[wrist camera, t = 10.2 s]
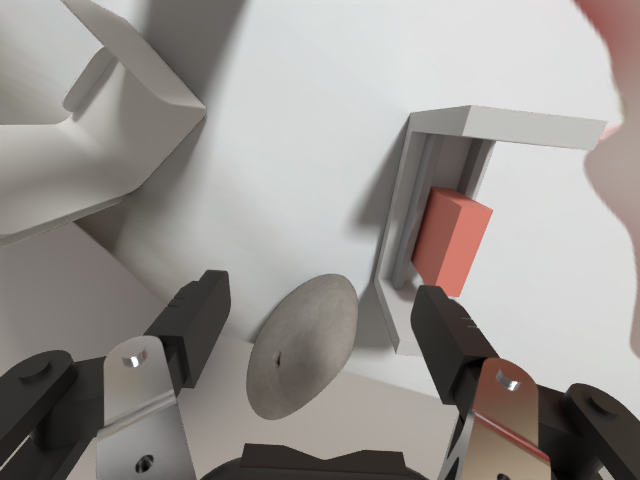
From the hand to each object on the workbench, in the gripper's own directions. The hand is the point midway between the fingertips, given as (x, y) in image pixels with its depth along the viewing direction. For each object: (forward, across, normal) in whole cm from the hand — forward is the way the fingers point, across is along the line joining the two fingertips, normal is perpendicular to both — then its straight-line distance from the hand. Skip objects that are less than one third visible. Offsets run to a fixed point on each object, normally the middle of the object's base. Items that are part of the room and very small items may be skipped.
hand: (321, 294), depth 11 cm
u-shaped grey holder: (+25, -15, +4) cm, 30 cm away
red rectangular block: (+23, -14, +5) cm, 28 cm away
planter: (+25, +1, +19) cm, 32 cm away
